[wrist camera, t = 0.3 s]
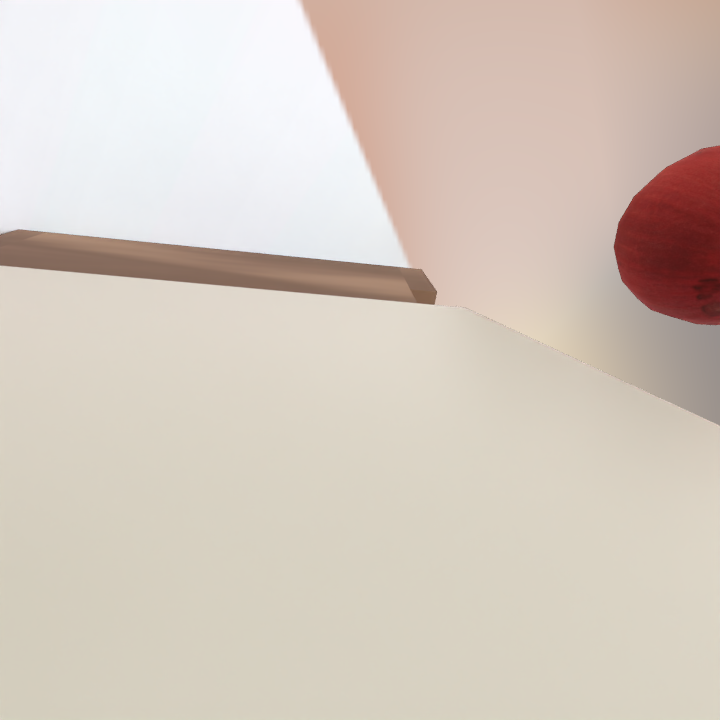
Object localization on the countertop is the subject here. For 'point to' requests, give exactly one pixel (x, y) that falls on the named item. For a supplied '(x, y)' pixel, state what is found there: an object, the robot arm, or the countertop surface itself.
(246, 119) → the countertop surface
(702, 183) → the onion
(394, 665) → the frame lid
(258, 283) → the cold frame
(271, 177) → the countertop surface
